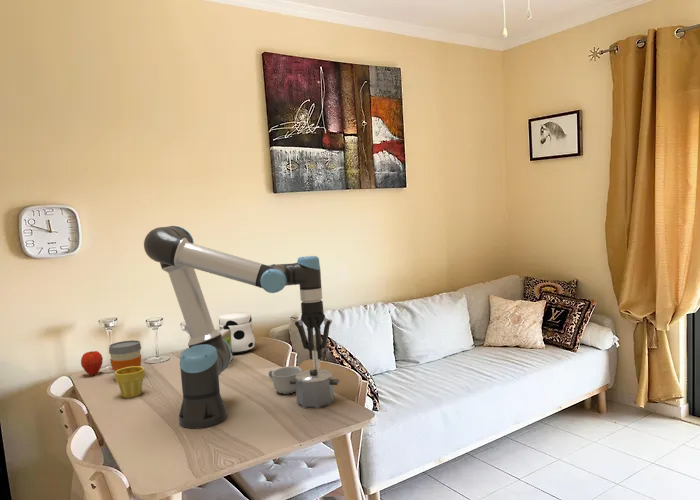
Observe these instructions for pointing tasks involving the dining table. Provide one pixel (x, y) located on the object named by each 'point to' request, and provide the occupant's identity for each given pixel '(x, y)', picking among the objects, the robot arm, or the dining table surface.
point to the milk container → (238, 330)
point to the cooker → (315, 393)
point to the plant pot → (130, 380)
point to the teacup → (284, 378)
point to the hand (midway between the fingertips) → (316, 368)
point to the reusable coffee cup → (125, 354)
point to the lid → (313, 375)
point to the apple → (91, 362)
